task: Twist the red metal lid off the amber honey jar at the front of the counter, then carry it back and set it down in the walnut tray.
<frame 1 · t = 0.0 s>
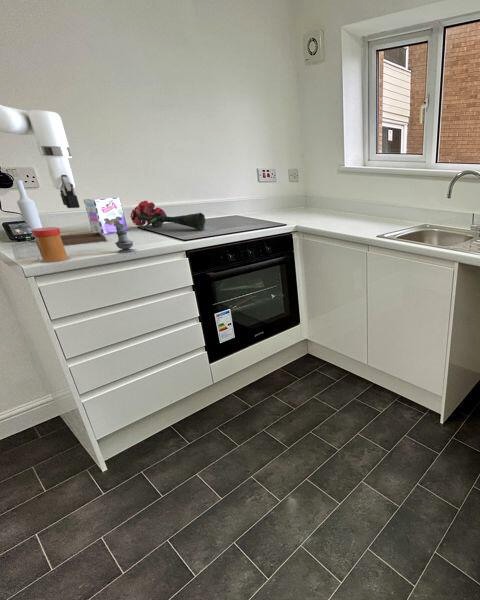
hand: (71, 206, 121), 19 cm above the countertop, tool pointing down, fingers open, 9 cm apart
tray: (81, 240, 155), on the countertop
jar: (55, 259, 126), on the countertop
lid: (45, 230, 122), point 11 cm above the countertop, screwed on, not yet turned
carnation: (171, 229, 187), on the countertop
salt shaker: (126, 251, 141), on the countertop
bottle: (39, 240, 153), on the countertop
candy box: (111, 232, 174), on the countertop
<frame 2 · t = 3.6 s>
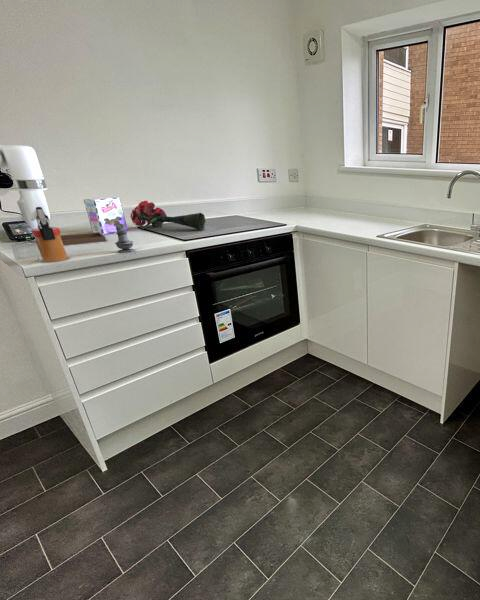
hand: (48, 237, 123), 8 cm above the countertop, tool pointing down, fingers closed on lid, 7 cm apart
lid: (45, 230, 122), point 11 cm above the countertop, screwed on, not yet turned, touching gripper
everything else where it was.
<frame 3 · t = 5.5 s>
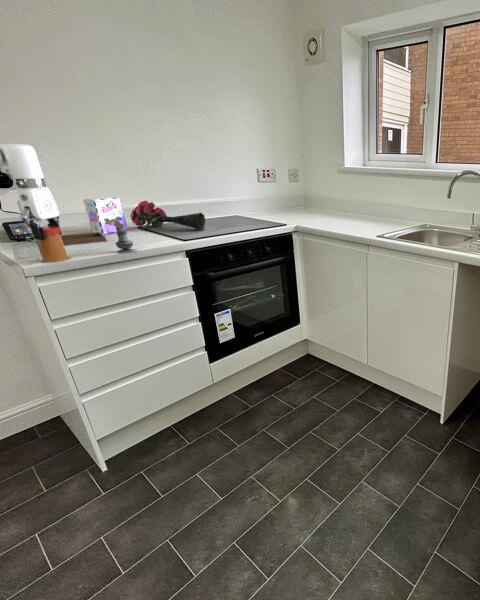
hand: (48, 236, 123), 8 cm above the countertop, tool pointing down, fingers closed on lid, 7 cm apart
lid: (46, 228, 122), point 11 cm above the countertop, off its thread, touching gripper
everything else where it was.
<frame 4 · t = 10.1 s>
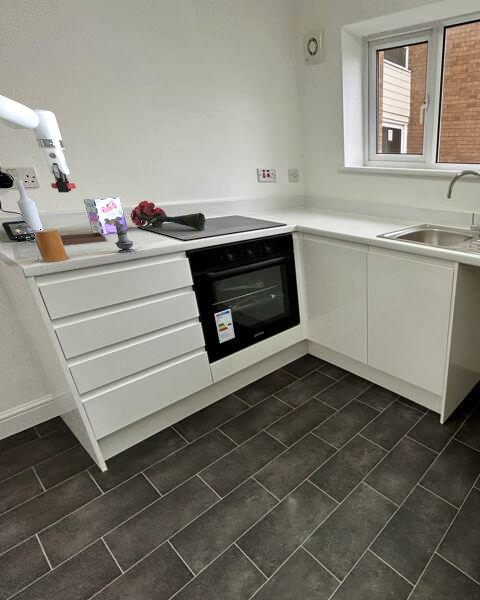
hand: (65, 191, 145), 21 cm above the countertop, tool pointing down, fingers closed on lid, 7 cm apart
lid: (63, 184, 144), point 24 cm above the countertop, off its thread, touching gripper
everything else where it was.
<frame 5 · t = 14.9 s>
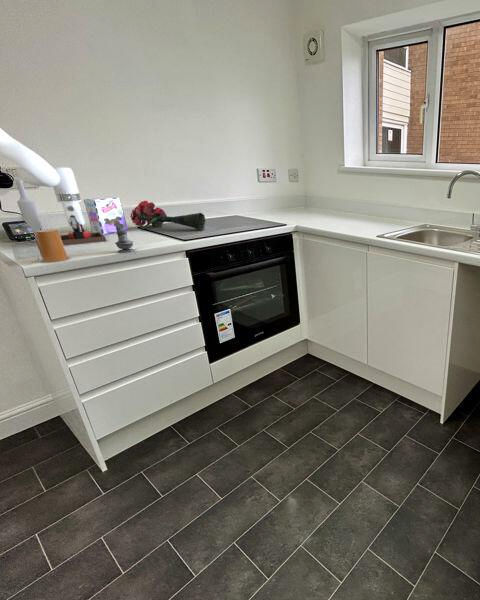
hand: (81, 239, 154), 1 cm above the countertop, tool pointing down, fingers closed on lid, 7 cm apart
lid: (79, 233, 153), point 3 cm above the countertop, off its thread, touching gripper
everything else where it was.
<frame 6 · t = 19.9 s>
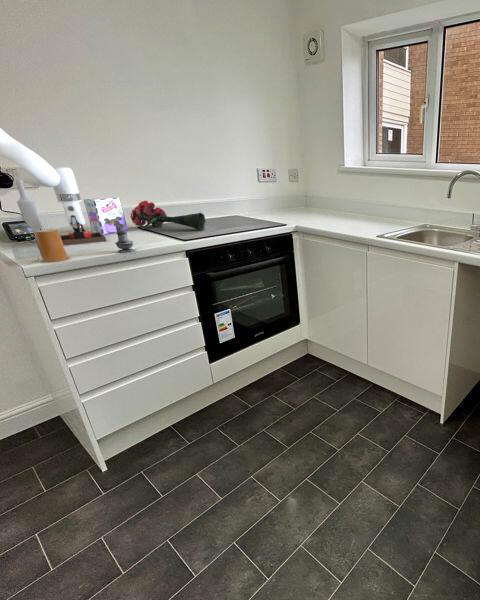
hand: (81, 239, 155), 1 cm above the countertop, tool pointing down, fingers closed on lid, 7 cm apart
lid: (79, 233, 154), point 3 cm above the countertop, off its thread, touching gripper
everything else where it was.
when the fingers open (1 cm above the countertop, at t = 24.4 s): lid stays where it is, resting on tray.
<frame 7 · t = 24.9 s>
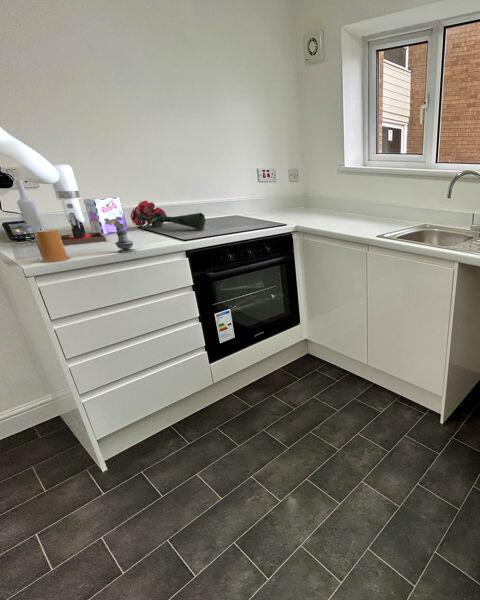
hand: (80, 235, 154), 2 cm above the countertop, tool pointing down, fingers open, 9 cm apart
lid: (80, 236, 154), point 2 cm above the countertop, off its thread, touching tray
everything else where it was.
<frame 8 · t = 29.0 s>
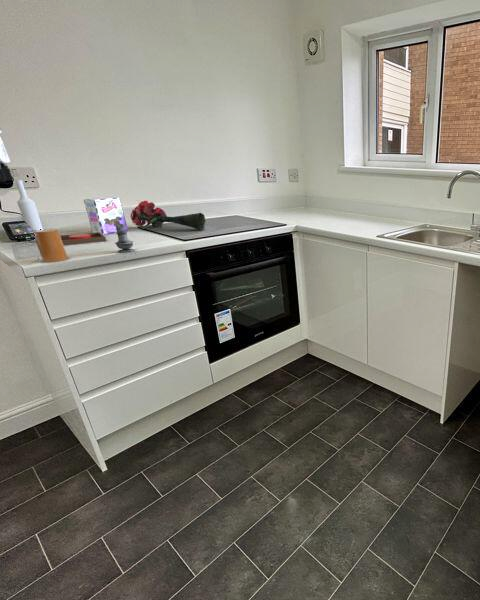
hand: (3, 180, 123), 26 cm above the countertop, tool pointing down, fingers open, 9 cm apart
nothing on the countertop moved.
at the end: lid inside the target area on the tray (0.1 cm from its centre), point 2.0 cm above the tray's base; lid point 2.0 cm above the countertop; the gripper is holding nothing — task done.
